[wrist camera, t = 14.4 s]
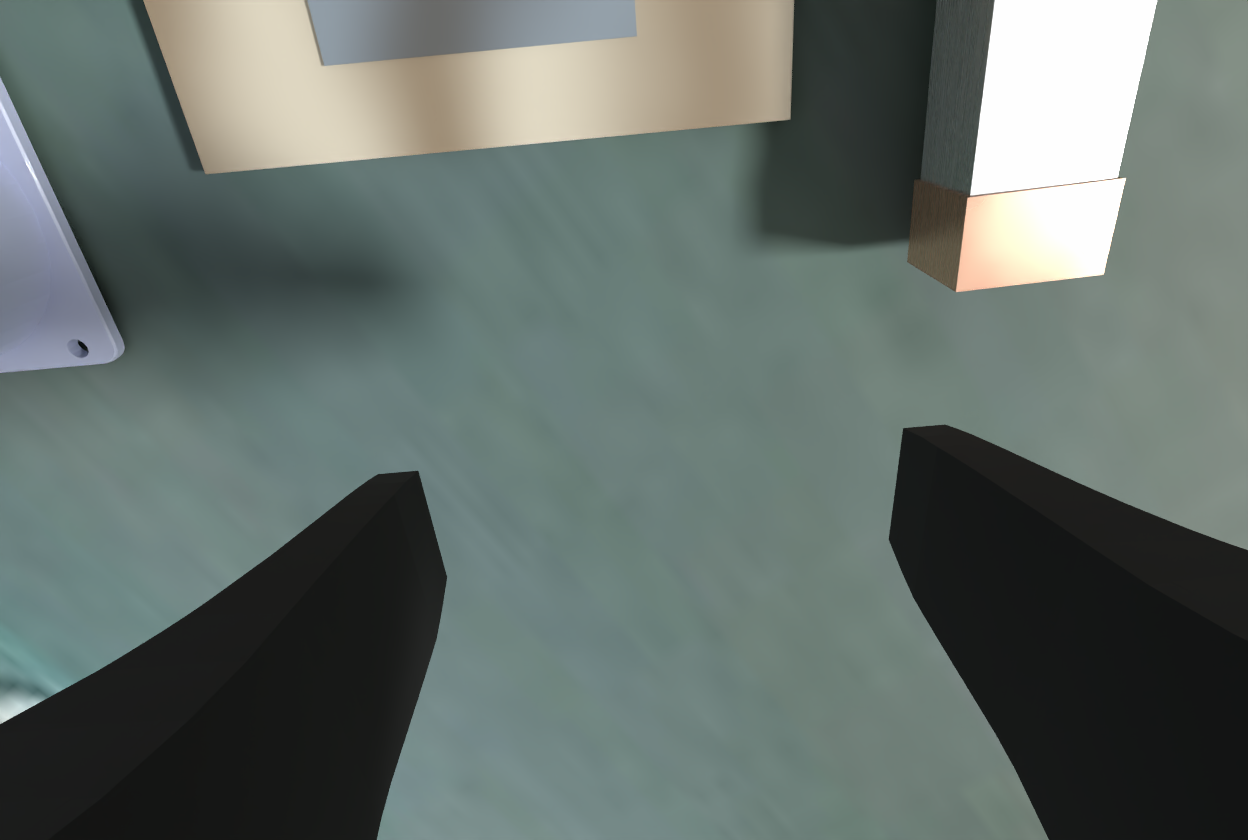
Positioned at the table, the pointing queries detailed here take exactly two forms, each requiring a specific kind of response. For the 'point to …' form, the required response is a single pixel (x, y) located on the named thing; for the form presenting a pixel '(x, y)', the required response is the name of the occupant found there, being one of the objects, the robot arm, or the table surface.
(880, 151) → the table surface
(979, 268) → the light grey long piece
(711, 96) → the label board
